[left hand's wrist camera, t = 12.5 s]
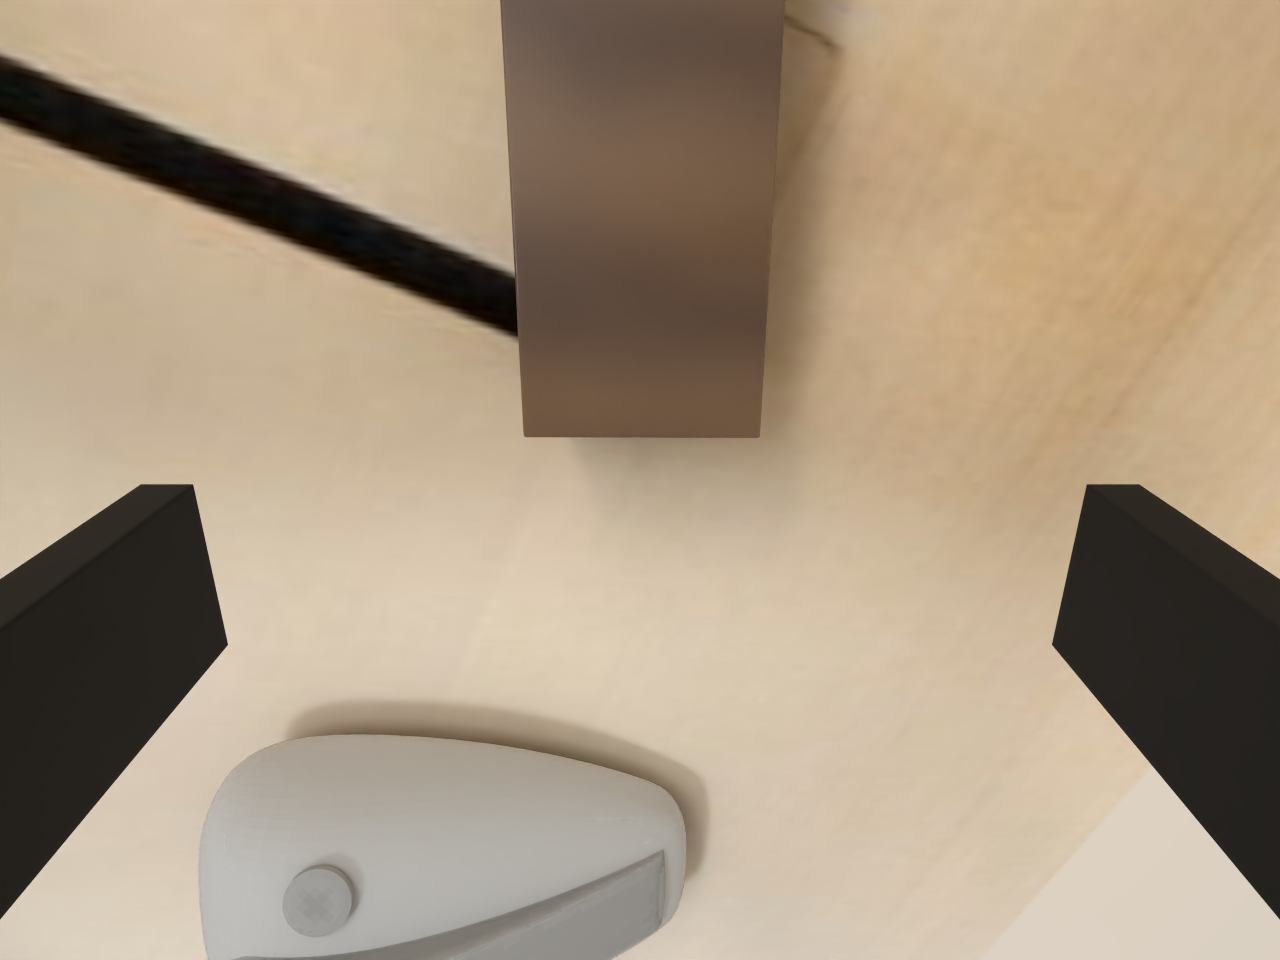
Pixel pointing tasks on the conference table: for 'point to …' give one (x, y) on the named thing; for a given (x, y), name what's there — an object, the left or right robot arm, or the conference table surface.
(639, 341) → the thick board
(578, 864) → the projector
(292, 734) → the conference table surface
